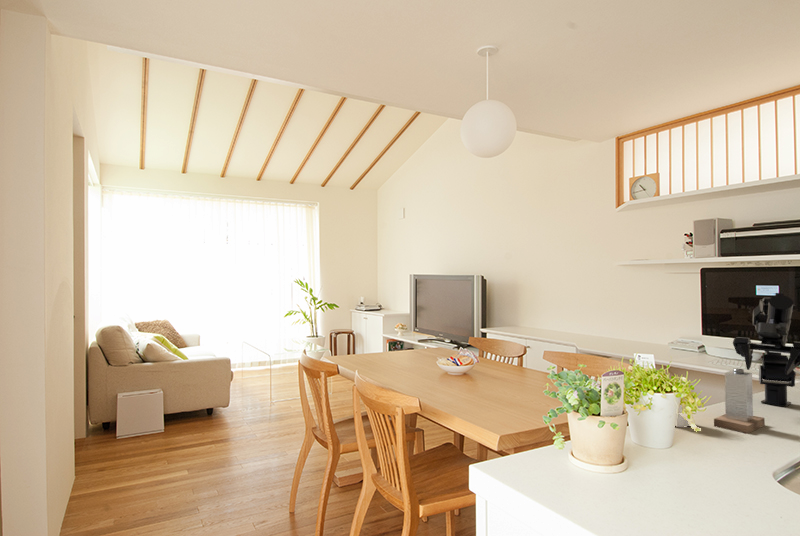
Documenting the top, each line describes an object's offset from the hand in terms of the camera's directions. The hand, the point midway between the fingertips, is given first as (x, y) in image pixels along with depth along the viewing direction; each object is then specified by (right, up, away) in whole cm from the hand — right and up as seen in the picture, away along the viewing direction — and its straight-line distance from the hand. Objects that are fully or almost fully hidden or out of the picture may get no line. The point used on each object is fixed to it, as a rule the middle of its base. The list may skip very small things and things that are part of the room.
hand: (766, 371), depth 141 cm
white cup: (-29, -14, -5) cm, 33 cm away
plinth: (-13, -13, -7) cm, 20 cm away
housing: (-13, -11, -7) cm, 19 cm away
